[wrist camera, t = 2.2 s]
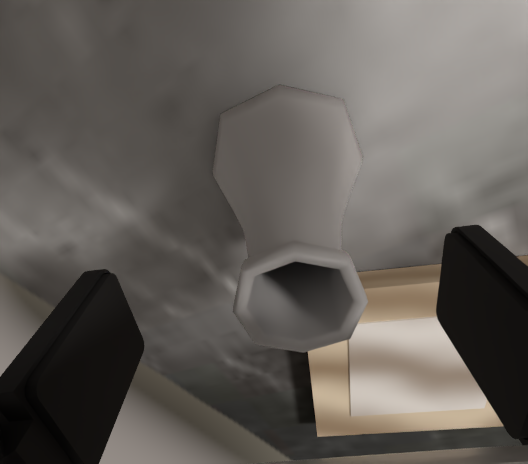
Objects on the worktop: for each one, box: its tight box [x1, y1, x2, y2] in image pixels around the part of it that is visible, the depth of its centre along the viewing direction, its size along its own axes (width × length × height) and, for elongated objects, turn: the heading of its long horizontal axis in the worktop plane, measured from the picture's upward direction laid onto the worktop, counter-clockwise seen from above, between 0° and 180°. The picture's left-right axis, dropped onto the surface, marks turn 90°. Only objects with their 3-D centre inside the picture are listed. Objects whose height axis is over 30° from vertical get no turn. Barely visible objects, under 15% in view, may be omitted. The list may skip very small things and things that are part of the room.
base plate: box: [308, 255, 528, 437], centre depth 22 cm, size 14×14×2 cm
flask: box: [212, 85, 368, 353], centre depth 12 cm, size 7×7×10 cm
